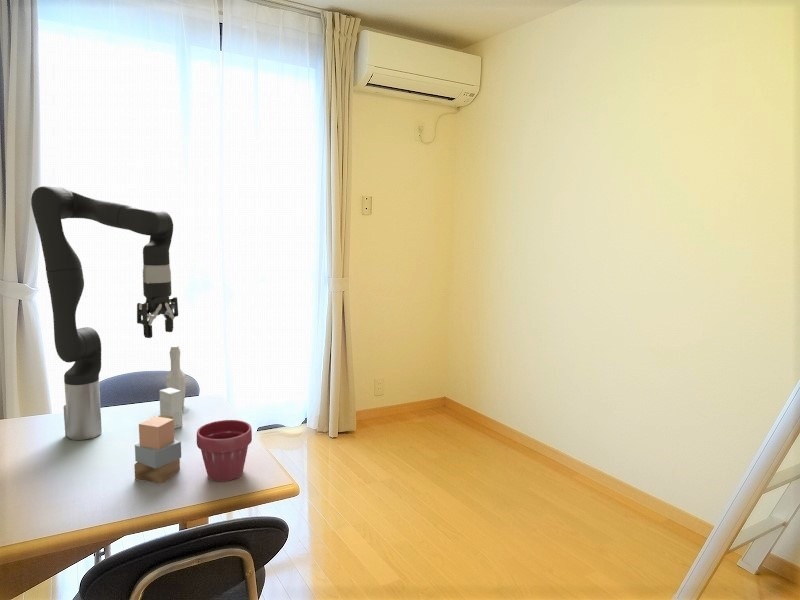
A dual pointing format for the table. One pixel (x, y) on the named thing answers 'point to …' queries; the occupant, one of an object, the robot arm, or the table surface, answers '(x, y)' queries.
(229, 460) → the plant pot
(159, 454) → the top block
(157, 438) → the cube
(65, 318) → the robot arm
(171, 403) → the skincare box
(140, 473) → the bottom block
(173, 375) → the low poly bottle
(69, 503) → the table surface
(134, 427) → the table surface
